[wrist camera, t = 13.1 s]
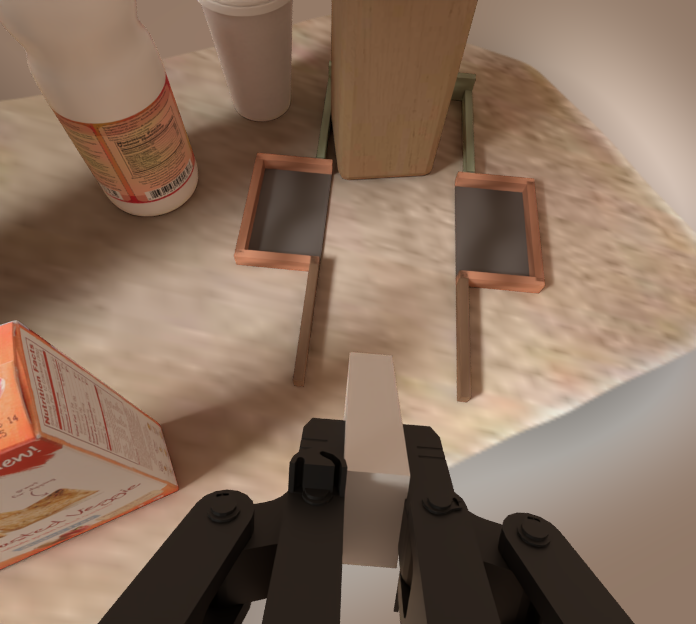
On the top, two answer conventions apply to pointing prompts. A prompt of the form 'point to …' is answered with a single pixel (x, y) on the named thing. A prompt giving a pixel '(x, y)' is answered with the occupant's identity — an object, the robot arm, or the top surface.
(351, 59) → the wooden block
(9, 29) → the fruit juice
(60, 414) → the cracker box
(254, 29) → the coffee cup
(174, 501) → the top surface
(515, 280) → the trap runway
